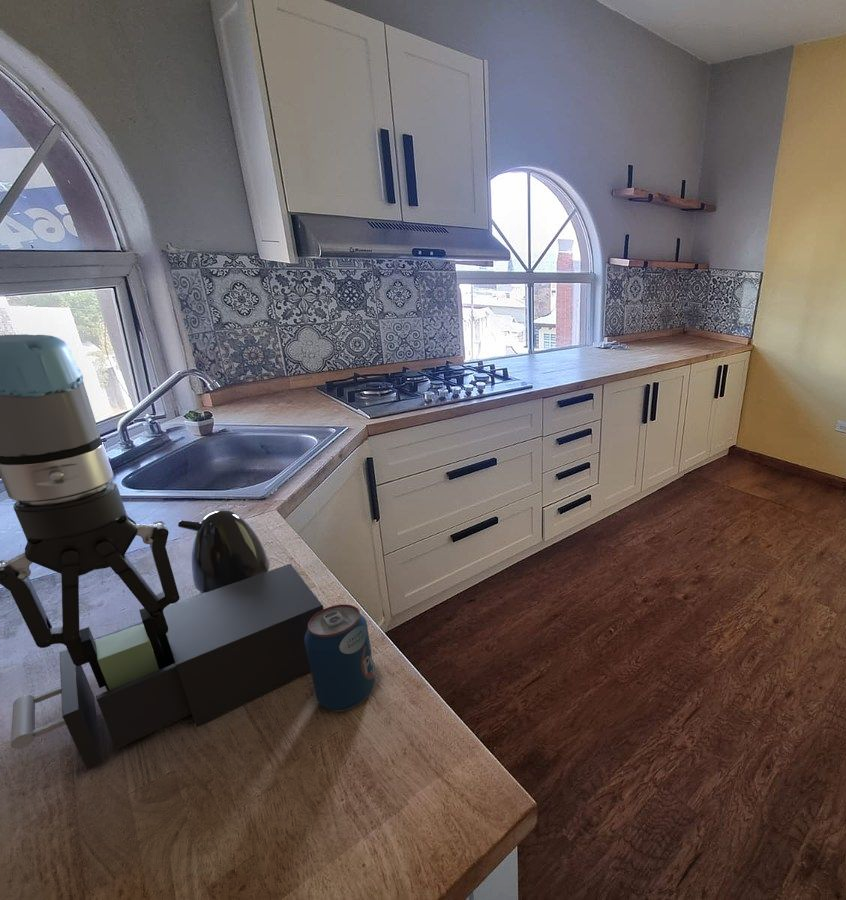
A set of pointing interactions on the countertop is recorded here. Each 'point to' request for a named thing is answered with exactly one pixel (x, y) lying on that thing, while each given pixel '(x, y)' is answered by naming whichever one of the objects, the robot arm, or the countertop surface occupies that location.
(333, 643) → the soda can
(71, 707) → the drawer
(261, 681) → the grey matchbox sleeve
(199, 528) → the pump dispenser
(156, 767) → the countertop surface
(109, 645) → the block
